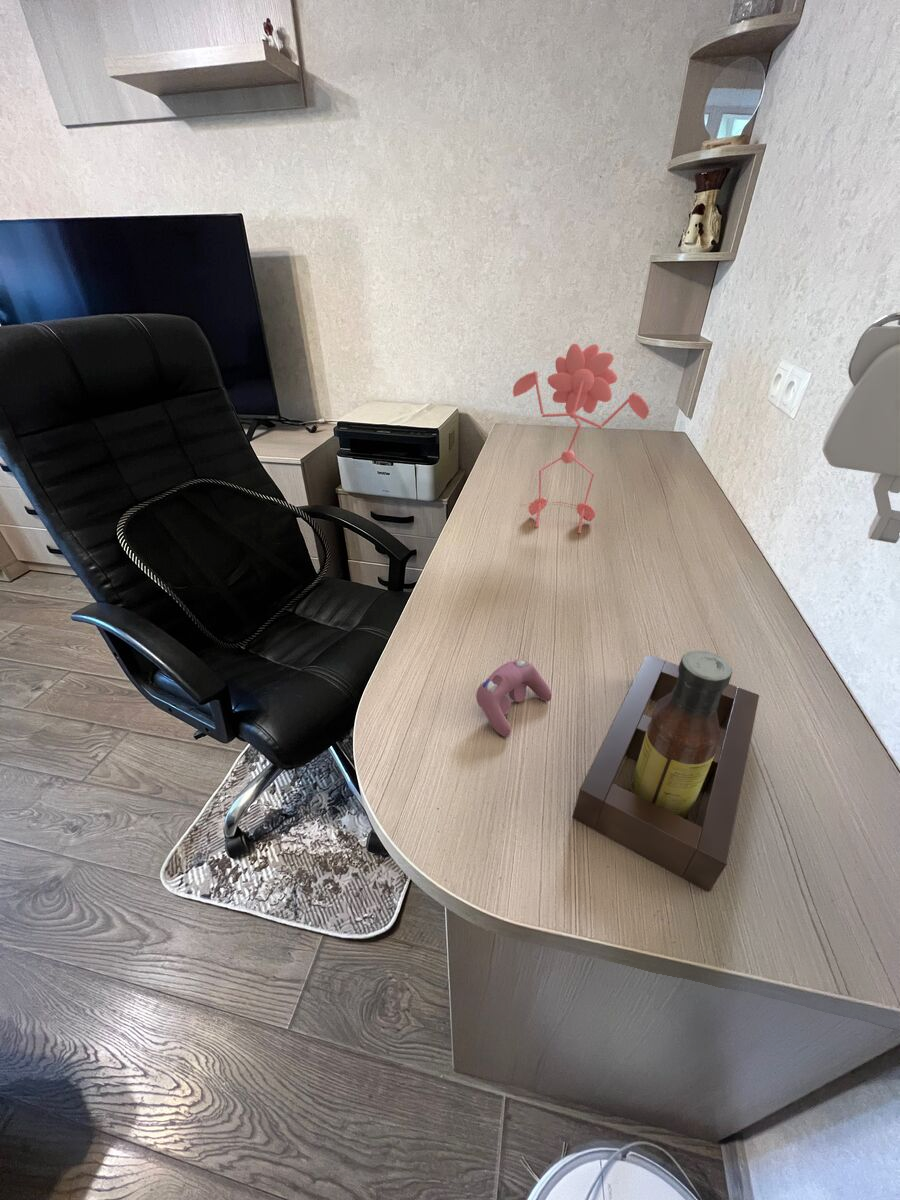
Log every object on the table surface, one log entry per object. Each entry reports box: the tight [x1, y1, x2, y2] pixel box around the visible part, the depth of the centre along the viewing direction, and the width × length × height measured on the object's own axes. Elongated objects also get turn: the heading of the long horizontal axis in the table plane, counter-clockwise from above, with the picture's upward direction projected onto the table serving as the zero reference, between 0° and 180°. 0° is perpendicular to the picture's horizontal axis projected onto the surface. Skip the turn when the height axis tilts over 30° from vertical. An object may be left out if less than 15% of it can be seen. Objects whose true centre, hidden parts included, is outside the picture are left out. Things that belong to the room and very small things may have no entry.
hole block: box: [572, 653, 760, 893], centre depth 56 cm, size 14×24×5 cm, turn 147°
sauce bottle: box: [630, 649, 733, 820], centre depth 48 cm, size 7×6×20 cm
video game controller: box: [475, 659, 552, 738], centre depth 64 cm, size 10×5×7 cm, turn 135°
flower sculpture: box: [512, 343, 650, 538], centre depth 102 cm, size 15×26×35 cm, turn 74°
